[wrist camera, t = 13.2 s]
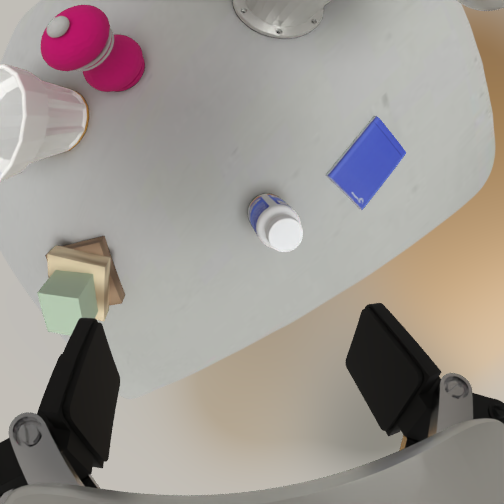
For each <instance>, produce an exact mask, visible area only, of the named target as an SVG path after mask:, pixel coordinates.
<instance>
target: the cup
mask: <svg viewBox="0 0 504 504" xmlns="http://www.w3.org/2000/svg"><path fill="white" fill-rule="evenodd" d="M88 121H89V111H88V105H87V103H86V101H85V99H84V98H83V96H81V95H80V94H79V93H77V92H76V91H74V90H71V89H68V88H65V87H62V86H59V85H55V84H52V83H49V82H45V81H42V80H40V79H39V78H38V77H36V76H35V75H33V74H32V73H30V72H29V71H27V70H24V69H20V68H17V67H13V66H10V65H6V64H3V65H0V182H2V181H4V180H6V179H8V178H10V177H12V176H15V175H17V174H19V173H22V172H23V171H24V170H25V168H26V167H27V166H28V165H29V164H30V163H33V162H36V161H39V160H41V159H44V158H47V157H50V156H53V155H56V154H59V153H63V152H66V151H69V150H71V149H72V148H73V147H75V146H76V145H77V144H78V143H79V142H80V140H81V139H82V137H83V136H84V134H85V132H86V130H87V126H88Z"/></svg>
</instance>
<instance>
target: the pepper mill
mask: <svg viewBox="0 0 504 504" xmlns="http://www.w3.org/2000/svg"><path fill="white" fill-rule="evenodd" d="M41 53H42V56H43V59H44V60H45V61H46V63H47V64H48V65H49V66H51V67H52V68H54V69H57V70H61V71H71V70H76V71H83V74H84V77H85V79H86V81H87V82H88V83H89V84H90V85H91V86H92V87H94V88H95V89H97V90H100V91H105V92H110V91H124V90H127V89H129V88H131V87H132V86H134V85H135V84H136V83H137V82H138V81H139V80H140V78H141V77H142V75H143V72H144V68H145V62H144V59H143V55H142V50H141V48H140V46H139V45H138V43H136V42H135V41H134V40H133V39H132V38H130V37H128V36H124V35H114V34H113V32H112V30H111V29H110V25H109V21H108V18H107V17H106V15H105V14H104V12H102V11H101V10H100V9H98V8H96V7H94V6H90V5H78V6H74V7H71V8H68V9H66V10H64V11H63V12H61V13H60V14H58V15H57V16H56V17H55V18H54V19H52V20H51V21H50V22H49V24H48V26H47V27H46V29H45V31H44V34H43V36H42V40H41Z"/></svg>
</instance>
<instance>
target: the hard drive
mask: <svg viewBox="0 0 504 504" xmlns="http://www.w3.org/2000/svg"><path fill="white" fill-rule="evenodd" d="M405 154H406V152H405V150H404V149H403V148H402V146H401V145H400V144H399V142H398V141H397V140H396V138H395V137H394V136H393V135H392V133H391V132H390V131H389V130H388V128H387V127H386V126H385V125H384V123H383V122H382V121H381V120H380V119H379V118H378V117H377V116H374V117H373V118H372V120H371V121H370V122H369V123H368V124H367V126H366V127H365V128H364V129H363V130H362V132H361V133H360V134H359V135H358V137H357V138H356V139H355V140H354V141H353V143H352V144H351V145H350V146H349V148H348V149H347V150H346V151H345V152H344V154H343V155H342V156H341V157H340V159H339V160H338V161H337V162H336V163H335V165H334V166H333V167H332V168H331V169H330V171H329V172H328V173H327V174H326V176H327V177H328V178H329V179H330V180H331V181H332V182H333V183H334V184H335V185H336V186H337V187H338V188H339V189H340V190H341V191H342V192H343V193H344V194H345V195H346V196H347V197H348V198H349V199H350V200H351V201H352V202H353V203H354V204H355V205H356V206H357V207H358V208H359V209H361V210H363V208H364V207H365V206H366V205H367V204H368V202H369V201H370V200H371V198H372V197H373V196H374V195H375V193H376V192H377V191H378V190H379V188H380V187H381V186H382V184H383V183H384V182H385V181H386V179H387V178H388V177H389V175H390V174H391V173H392V171H393V170H394V169H395V168H396V166H397V165H398V163H399V162H400V161H401V159H402V158H403V157H404V156H405Z"/></svg>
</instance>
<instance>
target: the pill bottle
mask: <svg viewBox="0 0 504 504" xmlns="http://www.w3.org/2000/svg"><path fill="white" fill-rule="evenodd" d="M248 218H249V221H250V223H251V225H252V227H253V228H254V230H255V232H256V234H257V236H258V237H259V239H260V240H261V242H262V243H263V244H265V245H266V246H268V247H270V248H274V249H275V250H277V251H280V252H289V251H292V250H294V249H295V248H296V247H297V246H298V245H299V244H300V243H301V241H302V238H303V229H302V226H301V221H300V218H299V216H298V214H297V213H296V212H295V211H294V210H293V209H292V208H291V207H290V206H289V205H288V204H286V203H285V202H284V201H283V200H282V199H281V198H279V197H278V196H276V195H273V194H262V195H259V196H257V197H256V198H255V199H254V200H253V201H252V202H251V203H250V205H249V208H248Z"/></svg>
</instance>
